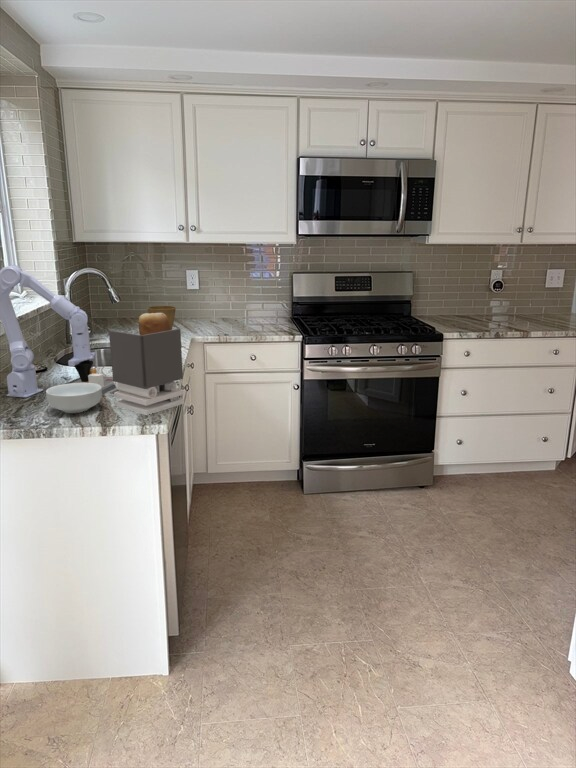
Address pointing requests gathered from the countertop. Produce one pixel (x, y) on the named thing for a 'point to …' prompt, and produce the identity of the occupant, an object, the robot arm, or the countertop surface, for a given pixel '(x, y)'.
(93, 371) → the orange block
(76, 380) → the cords
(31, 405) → the countertop surface
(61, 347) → the countertop surface
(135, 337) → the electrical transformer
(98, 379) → the breaker panel
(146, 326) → the bread loaf
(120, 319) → the countertop surface
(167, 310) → the plant pot
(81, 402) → the cereal bowl
